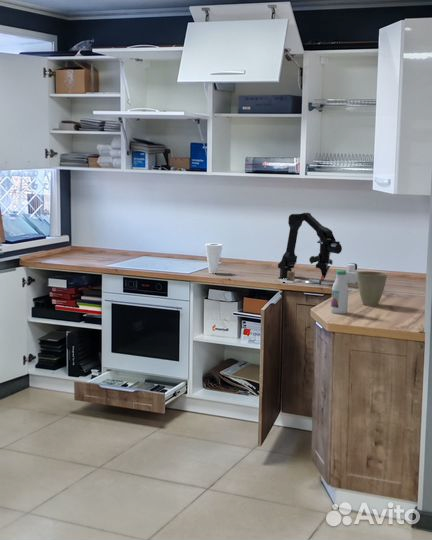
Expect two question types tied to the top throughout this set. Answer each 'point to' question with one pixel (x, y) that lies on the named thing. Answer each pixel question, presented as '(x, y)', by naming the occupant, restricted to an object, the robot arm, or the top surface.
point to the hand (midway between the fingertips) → (323, 278)
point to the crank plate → (316, 284)
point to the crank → (312, 281)
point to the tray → (290, 281)
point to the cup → (213, 256)
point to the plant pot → (371, 286)
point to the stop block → (290, 276)
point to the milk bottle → (339, 294)
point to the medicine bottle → (351, 273)
